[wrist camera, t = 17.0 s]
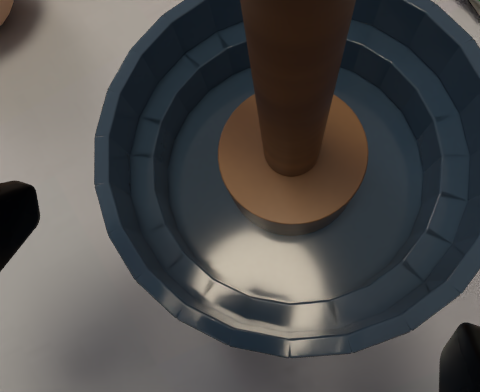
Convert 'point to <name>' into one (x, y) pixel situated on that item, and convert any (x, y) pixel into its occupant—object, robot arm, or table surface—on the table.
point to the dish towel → (476, 5)
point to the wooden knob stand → (294, 119)
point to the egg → (5, 9)
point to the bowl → (318, 242)
